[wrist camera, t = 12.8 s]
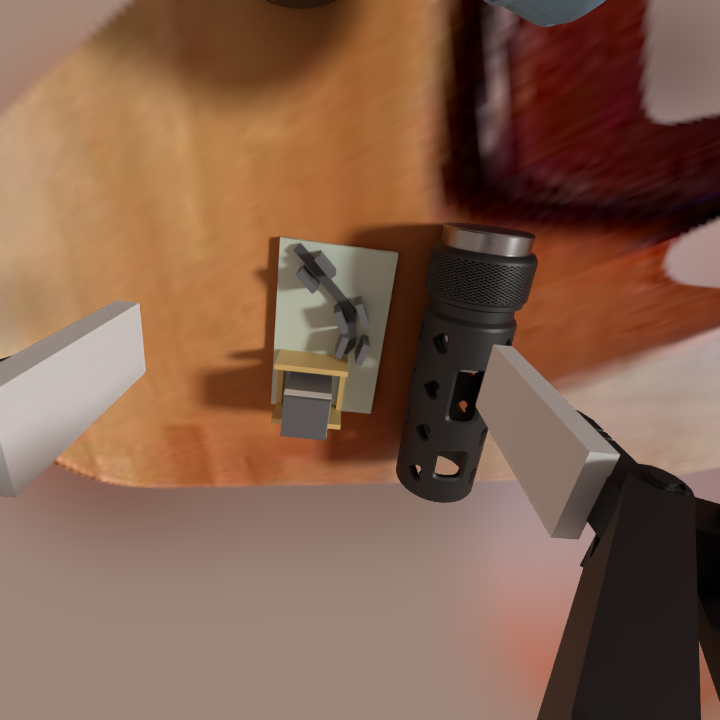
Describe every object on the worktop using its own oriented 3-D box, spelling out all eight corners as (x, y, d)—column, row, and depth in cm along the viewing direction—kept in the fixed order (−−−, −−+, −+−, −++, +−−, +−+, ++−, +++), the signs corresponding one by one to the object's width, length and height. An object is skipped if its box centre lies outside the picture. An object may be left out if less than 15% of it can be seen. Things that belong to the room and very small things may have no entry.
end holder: (280, 348, 45) (274, 363, 41) (347, 356, 45) (348, 371, 42) (276, 404, 47) (271, 423, 44) (340, 410, 48) (339, 429, 45)
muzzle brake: (388, 444, 52) (398, 503, 42) (425, 217, 41) (449, 229, 31) (460, 449, 53) (485, 507, 43) (516, 227, 41) (566, 241, 32)
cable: (292, 246, 40) (291, 248, 39) (321, 233, 40) (321, 234, 39) (343, 353, 45) (343, 356, 44) (369, 342, 45) (370, 345, 44)
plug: (293, 361, 45) (283, 396, 38) (333, 366, 46) (331, 401, 38) (289, 396, 47) (279, 436, 40) (328, 400, 48) (325, 440, 40)
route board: (281, 236, 41) (275, 241, 37) (397, 252, 42) (402, 259, 38) (272, 399, 48) (266, 417, 45) (370, 409, 49) (372, 427, 46)
